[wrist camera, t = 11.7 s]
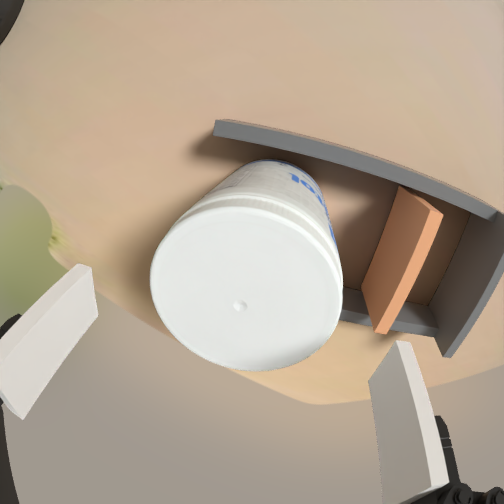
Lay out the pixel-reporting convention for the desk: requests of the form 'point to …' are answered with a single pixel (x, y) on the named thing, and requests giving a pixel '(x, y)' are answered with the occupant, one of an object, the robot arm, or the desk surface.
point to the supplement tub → (251, 270)
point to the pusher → (399, 257)
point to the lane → (461, 266)
